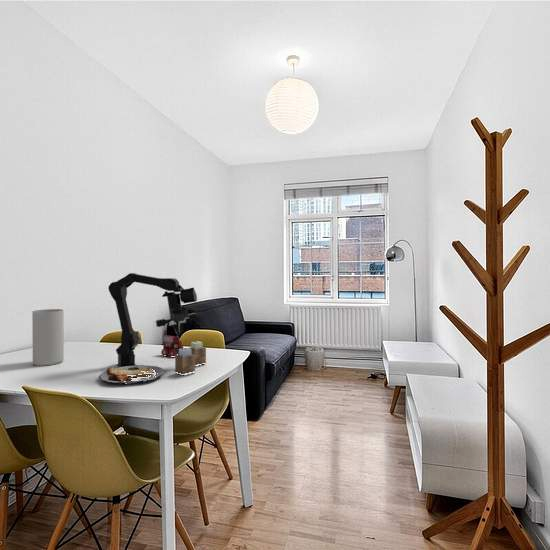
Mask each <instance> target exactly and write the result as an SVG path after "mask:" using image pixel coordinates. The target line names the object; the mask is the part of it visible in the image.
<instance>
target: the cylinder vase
mask: <svg viewBox="0 0 550 550" xmlns="http://www.w3.org/2000/svg"><path fill="white" fill-rule="evenodd" d="M31 314H32V316H31V318H32V319H31V320H32V325H31V326H32V327H31V328H32V331H31V333H32V334H31V335H32V364H33V365H34V366H37V367H38V366H39V367H45V366H46V365H48V366H53V365H57V364H61V363H62V362H64V357H65V356H64V355H65V353H64V348H65V347H64V344H65V343H64V334H65V333H64V309H62V308H53V309H51V308H48V309H46V308H45V309H36V310H33V311H31ZM46 367H47V366H46Z"/></svg>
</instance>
